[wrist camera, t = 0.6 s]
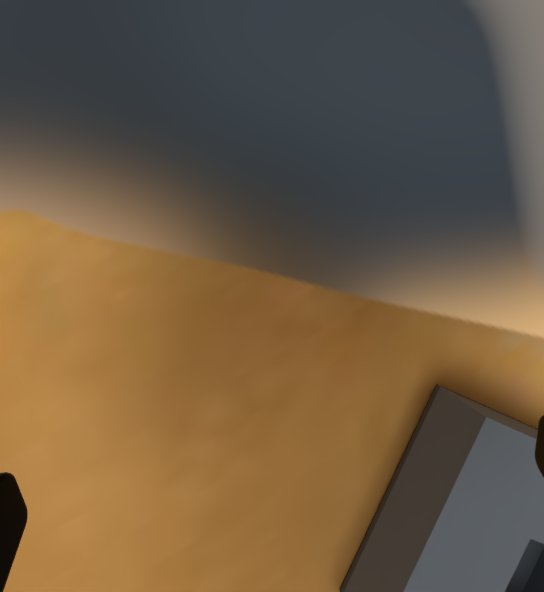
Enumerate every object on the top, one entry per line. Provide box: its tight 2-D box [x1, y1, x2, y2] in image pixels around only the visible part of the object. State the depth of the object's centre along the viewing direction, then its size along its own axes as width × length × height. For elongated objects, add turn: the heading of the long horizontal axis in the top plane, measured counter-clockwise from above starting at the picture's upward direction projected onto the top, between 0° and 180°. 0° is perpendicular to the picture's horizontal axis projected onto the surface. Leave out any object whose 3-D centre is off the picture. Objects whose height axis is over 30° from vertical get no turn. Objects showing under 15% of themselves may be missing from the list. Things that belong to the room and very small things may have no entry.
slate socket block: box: [340, 385, 544, 592], centre depth 22 cm, size 13×13×6 cm
